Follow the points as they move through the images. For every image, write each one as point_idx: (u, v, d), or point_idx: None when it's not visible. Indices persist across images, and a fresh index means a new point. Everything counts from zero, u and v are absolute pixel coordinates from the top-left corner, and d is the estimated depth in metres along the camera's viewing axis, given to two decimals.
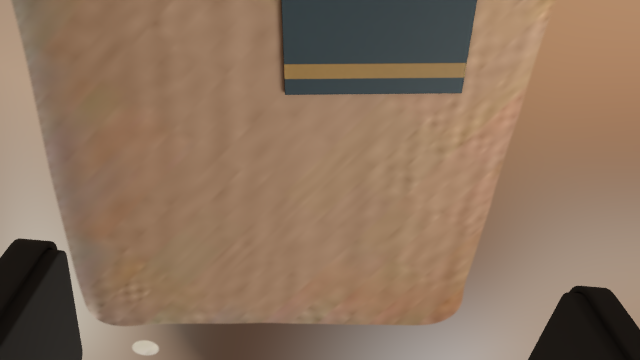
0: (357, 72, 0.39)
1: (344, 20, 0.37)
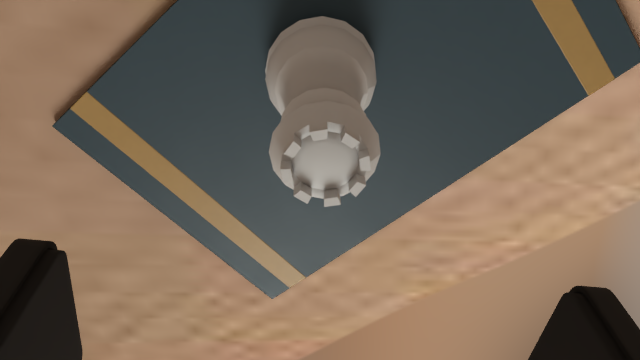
0: (178, 186, 0.24)
1: (219, 119, 0.22)
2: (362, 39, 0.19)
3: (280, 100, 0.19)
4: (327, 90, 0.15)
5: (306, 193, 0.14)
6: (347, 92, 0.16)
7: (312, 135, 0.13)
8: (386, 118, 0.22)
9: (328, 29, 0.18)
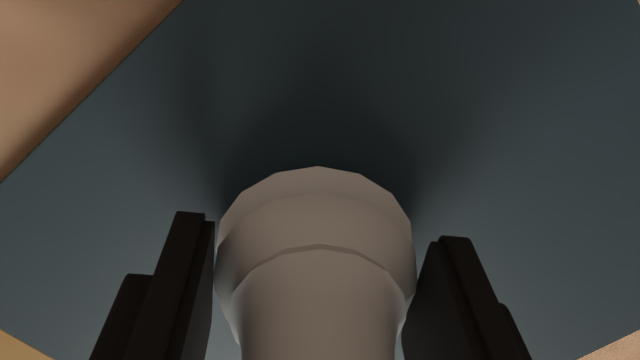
0: None
1: None
2: (391, 202, 0.11)
3: (238, 335, 0.10)
4: None
5: None
6: None
7: None
8: None
9: (330, 204, 0.09)
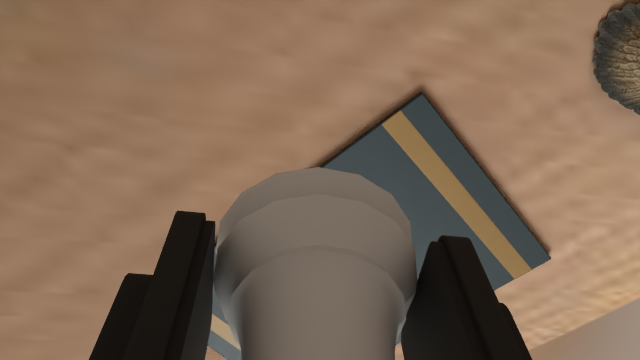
0: (226, 334, 0.33)
1: None
2: (391, 203, 0.11)
3: (238, 336, 0.10)
4: None
5: None
6: None
7: None
8: None
9: (330, 205, 0.09)
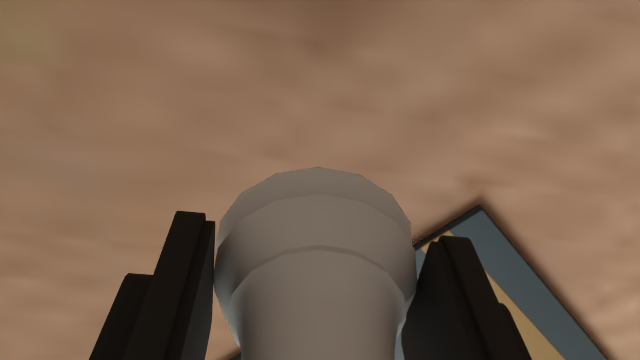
0: None
1: None
2: (391, 203, 0.11)
3: (238, 336, 0.10)
4: None
5: None
6: None
7: None
8: None
9: (330, 205, 0.09)
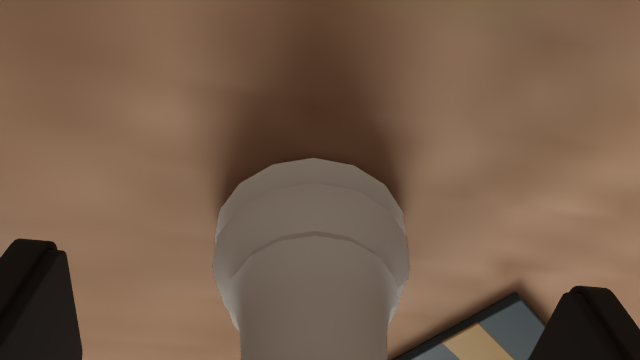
0: None
1: None
2: (384, 193, 0.11)
3: (236, 320, 0.10)
4: None
5: None
6: None
7: None
8: None
9: (325, 193, 0.10)
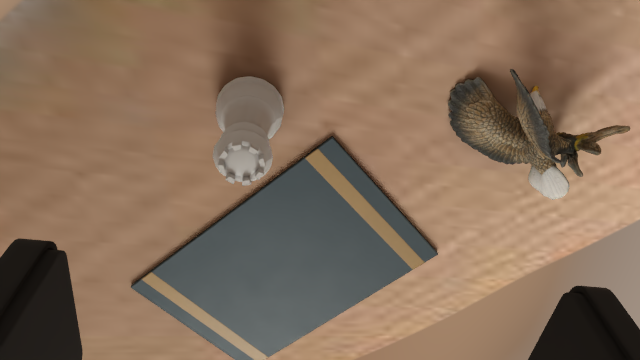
0: (196, 313, 0.43)
1: (220, 282, 0.41)
2: (274, 89, 0.32)
3: (223, 126, 0.31)
4: (245, 123, 0.28)
5: (232, 178, 0.27)
6: (258, 123, 0.29)
7: (233, 147, 0.26)
8: (309, 280, 0.42)
9: (251, 85, 0.31)
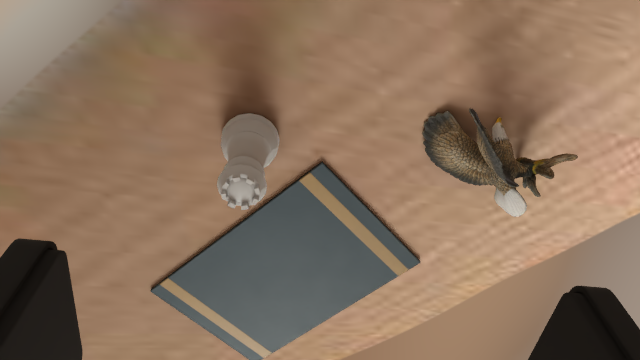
0: (208, 314, 0.49)
1: (228, 287, 0.47)
2: (270, 124, 0.38)
3: (227, 156, 0.37)
4: (244, 157, 0.34)
5: (233, 203, 0.33)
6: (255, 156, 0.35)
7: (233, 179, 0.32)
8: (306, 285, 0.47)
9: (250, 121, 0.37)
